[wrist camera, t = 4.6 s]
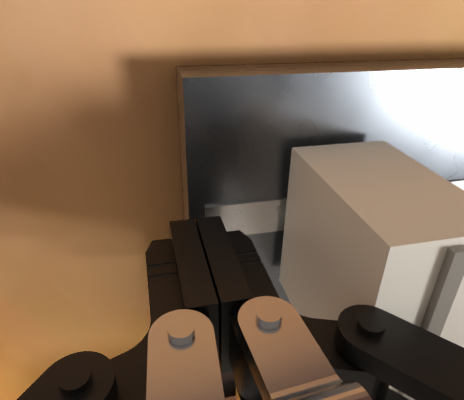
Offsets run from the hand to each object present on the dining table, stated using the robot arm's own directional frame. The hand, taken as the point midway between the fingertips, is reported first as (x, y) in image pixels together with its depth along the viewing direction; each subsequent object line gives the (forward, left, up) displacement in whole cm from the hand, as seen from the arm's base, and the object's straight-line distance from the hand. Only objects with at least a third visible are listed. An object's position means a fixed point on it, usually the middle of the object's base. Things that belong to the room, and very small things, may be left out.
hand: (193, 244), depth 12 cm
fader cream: (-4, 0, -1) cm, 5 cm away
